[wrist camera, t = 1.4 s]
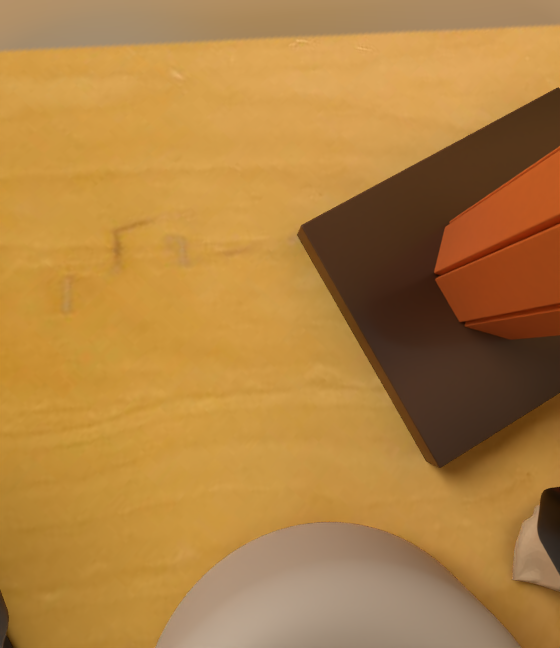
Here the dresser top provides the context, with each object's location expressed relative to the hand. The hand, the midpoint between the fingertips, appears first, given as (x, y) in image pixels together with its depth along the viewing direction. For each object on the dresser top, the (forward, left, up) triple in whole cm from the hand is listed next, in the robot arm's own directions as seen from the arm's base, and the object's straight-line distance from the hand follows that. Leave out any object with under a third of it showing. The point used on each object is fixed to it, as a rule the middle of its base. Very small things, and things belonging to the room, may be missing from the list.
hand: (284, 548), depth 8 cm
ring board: (+1, -13, -14) cm, 19 cm away
